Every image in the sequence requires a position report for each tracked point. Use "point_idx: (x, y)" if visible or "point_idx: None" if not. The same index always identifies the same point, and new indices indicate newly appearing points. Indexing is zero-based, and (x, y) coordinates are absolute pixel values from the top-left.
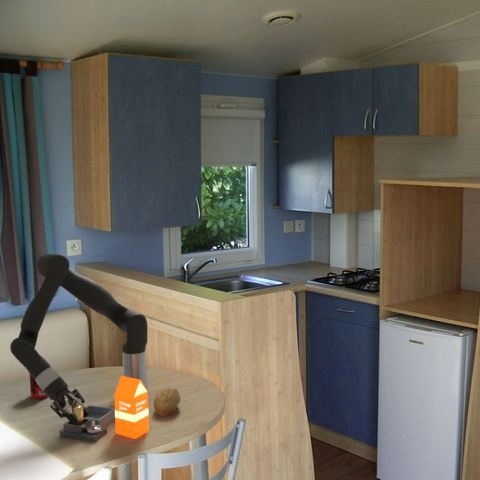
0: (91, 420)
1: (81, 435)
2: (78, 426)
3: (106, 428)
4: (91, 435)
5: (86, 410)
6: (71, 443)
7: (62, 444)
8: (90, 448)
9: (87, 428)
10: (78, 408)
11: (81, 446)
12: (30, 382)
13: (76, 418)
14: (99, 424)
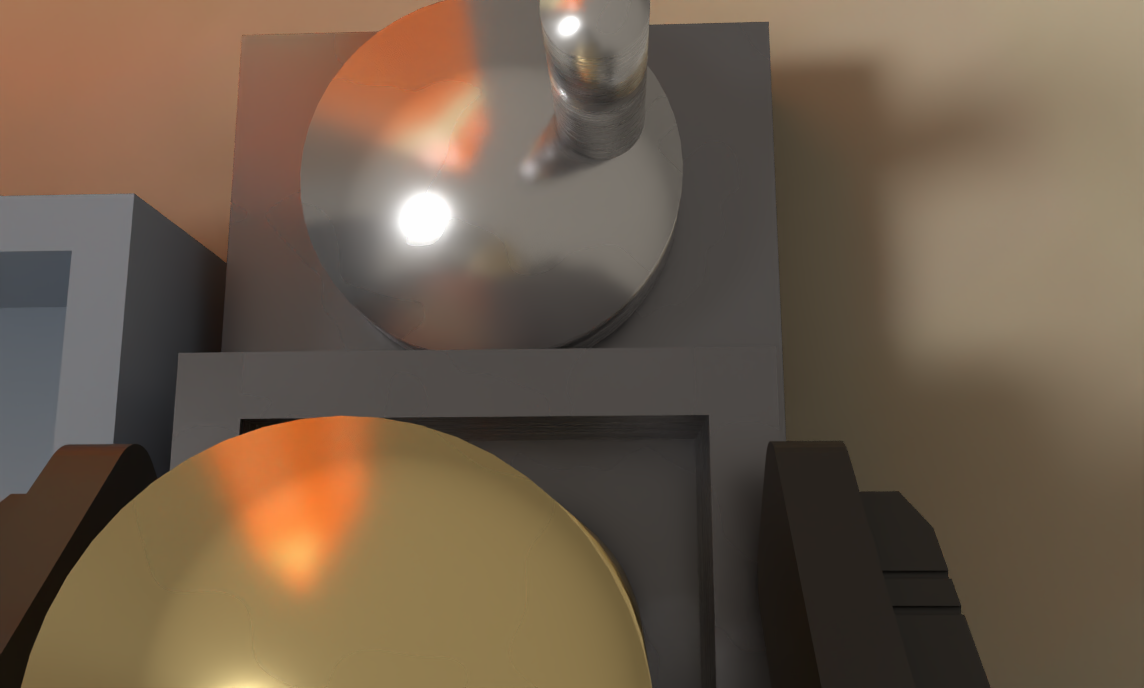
0: (226, 357)
1: (780, 361)
2: (770, 438)
3: (258, 44)
4: (741, 111)
5: (20, 535)
6: (991, 498)
7: (1120, 664)
8: (1029, 4)
9: (588, 286)
10: (557, 511)
11: (1027, 215)
12: None
13: (633, 601)
14: (177, 229)
